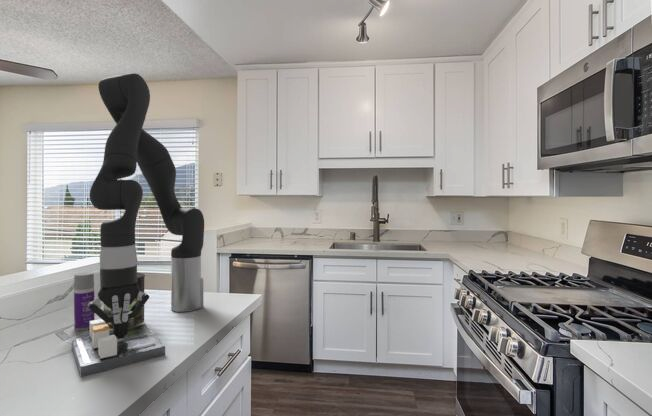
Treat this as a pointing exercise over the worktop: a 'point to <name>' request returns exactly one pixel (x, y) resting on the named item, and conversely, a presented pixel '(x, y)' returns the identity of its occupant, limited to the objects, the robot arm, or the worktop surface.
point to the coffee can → (140, 316)
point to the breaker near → (107, 346)
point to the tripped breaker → (99, 333)
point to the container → (83, 300)
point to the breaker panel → (129, 350)
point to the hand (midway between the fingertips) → (120, 337)
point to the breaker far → (95, 324)
